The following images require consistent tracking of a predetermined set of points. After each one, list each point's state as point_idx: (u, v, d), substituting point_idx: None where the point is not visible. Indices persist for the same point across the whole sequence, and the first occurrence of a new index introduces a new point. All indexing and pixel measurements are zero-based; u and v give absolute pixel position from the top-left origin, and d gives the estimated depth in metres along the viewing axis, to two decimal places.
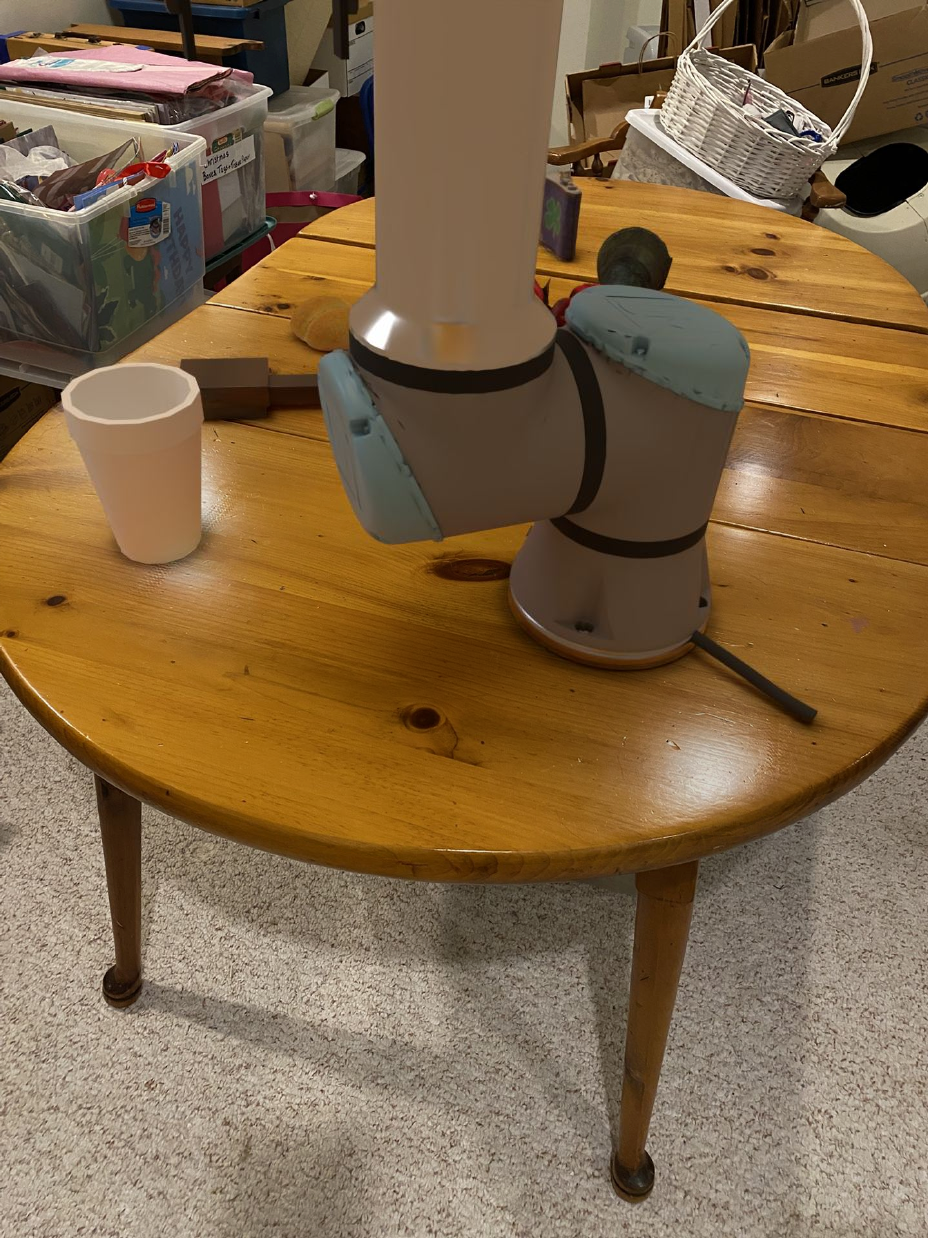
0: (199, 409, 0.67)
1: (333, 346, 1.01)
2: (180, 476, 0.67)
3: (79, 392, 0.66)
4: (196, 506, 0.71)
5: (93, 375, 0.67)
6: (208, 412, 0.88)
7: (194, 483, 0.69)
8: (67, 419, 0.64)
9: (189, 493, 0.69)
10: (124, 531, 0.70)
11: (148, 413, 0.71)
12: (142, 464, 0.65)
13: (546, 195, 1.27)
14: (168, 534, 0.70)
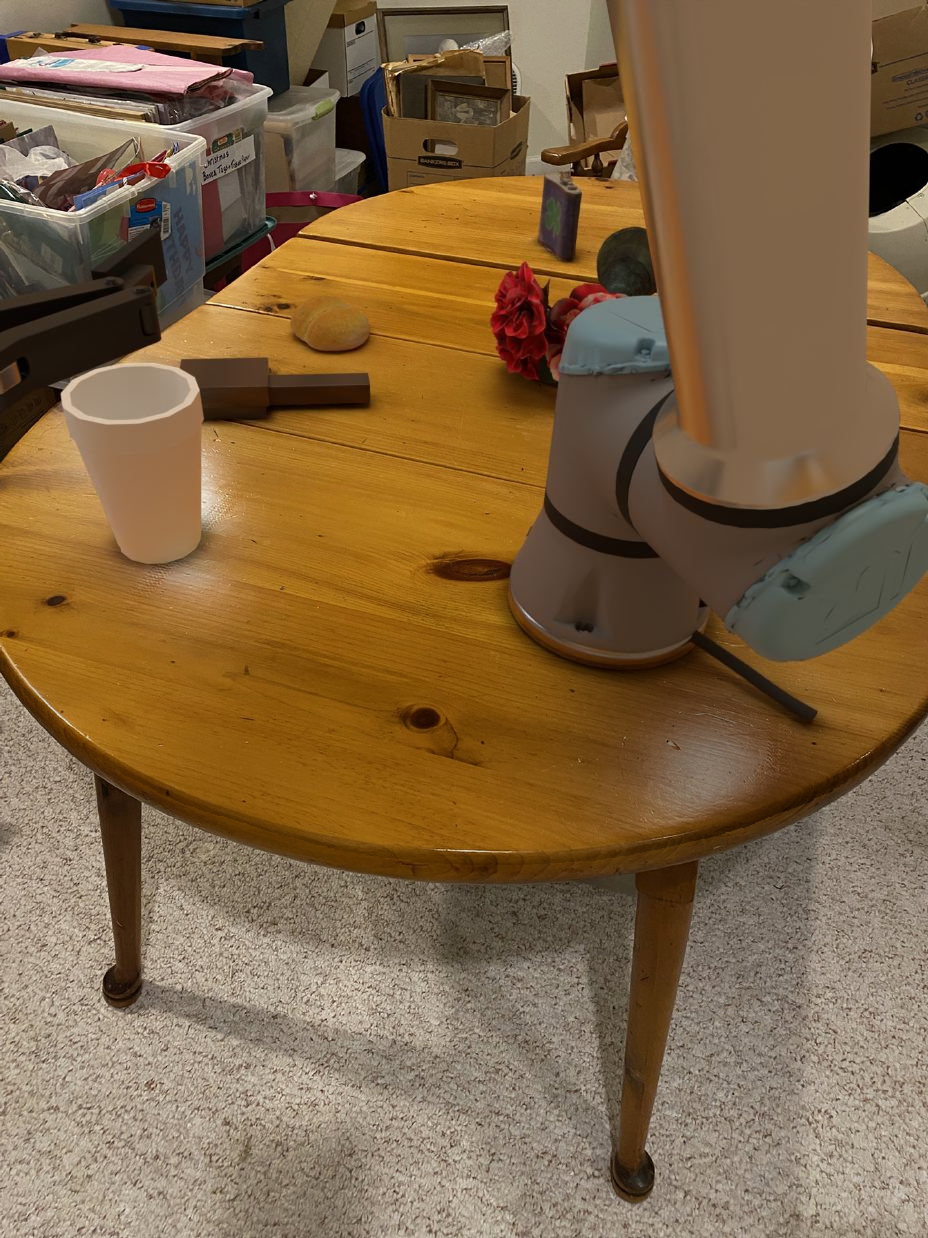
0: (199, 409, 0.67)
1: (333, 346, 1.01)
2: (180, 476, 0.67)
3: (79, 392, 0.66)
4: (196, 506, 0.71)
5: (93, 375, 0.67)
6: (208, 412, 0.88)
7: (194, 483, 0.69)
8: (67, 419, 0.64)
9: (189, 493, 0.69)
10: (124, 531, 0.70)
11: (148, 413, 0.71)
12: (142, 464, 0.65)
13: (546, 195, 1.27)
14: (168, 534, 0.70)
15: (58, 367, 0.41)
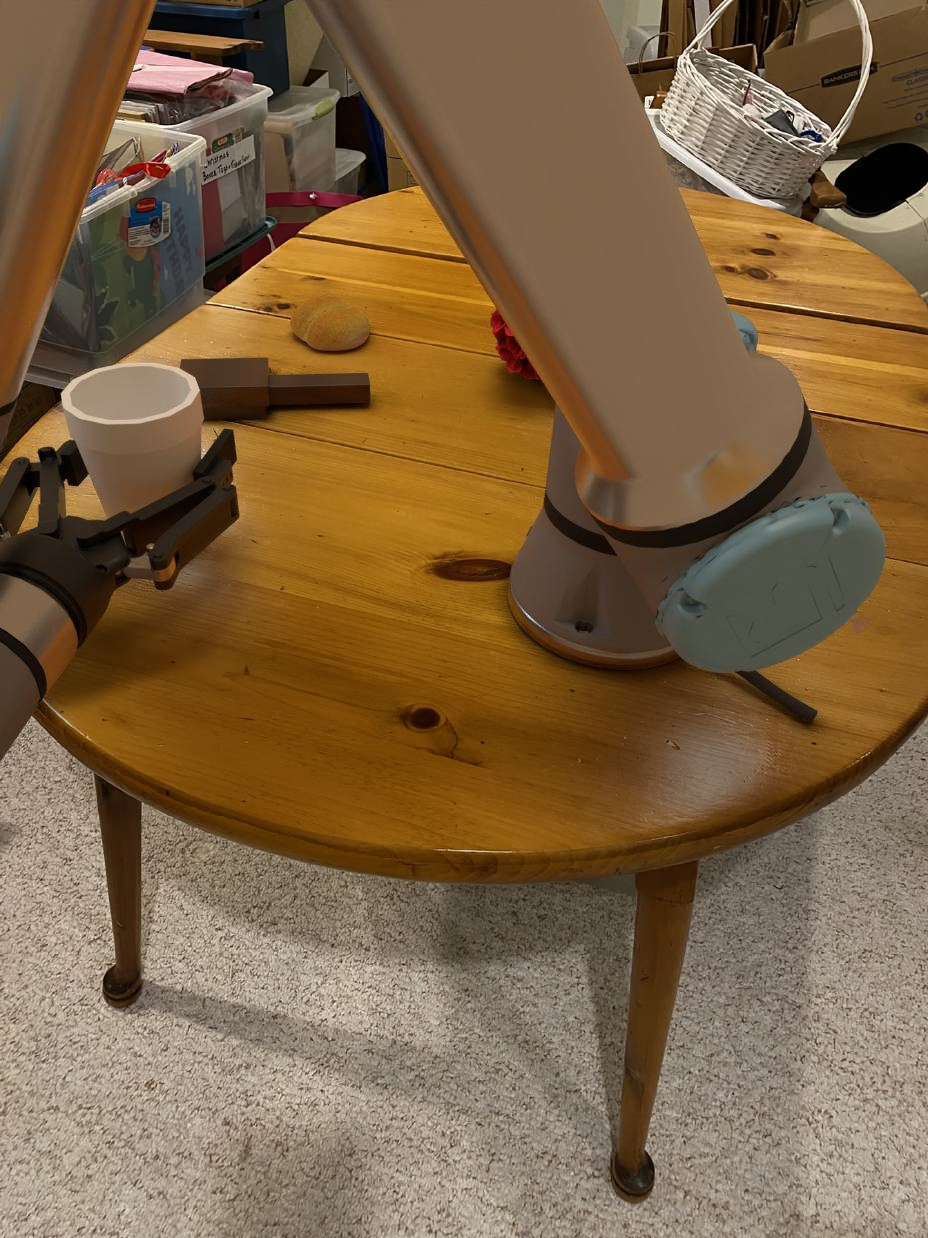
0: (199, 408, 0.67)
1: (333, 346, 1.01)
2: (180, 476, 0.67)
3: (79, 392, 0.66)
4: None
5: (93, 375, 0.67)
6: (208, 412, 0.88)
7: None
8: (67, 419, 0.64)
9: None
10: None
11: (148, 412, 0.71)
12: (142, 464, 0.65)
13: None
14: None
15: (192, 551, 0.63)
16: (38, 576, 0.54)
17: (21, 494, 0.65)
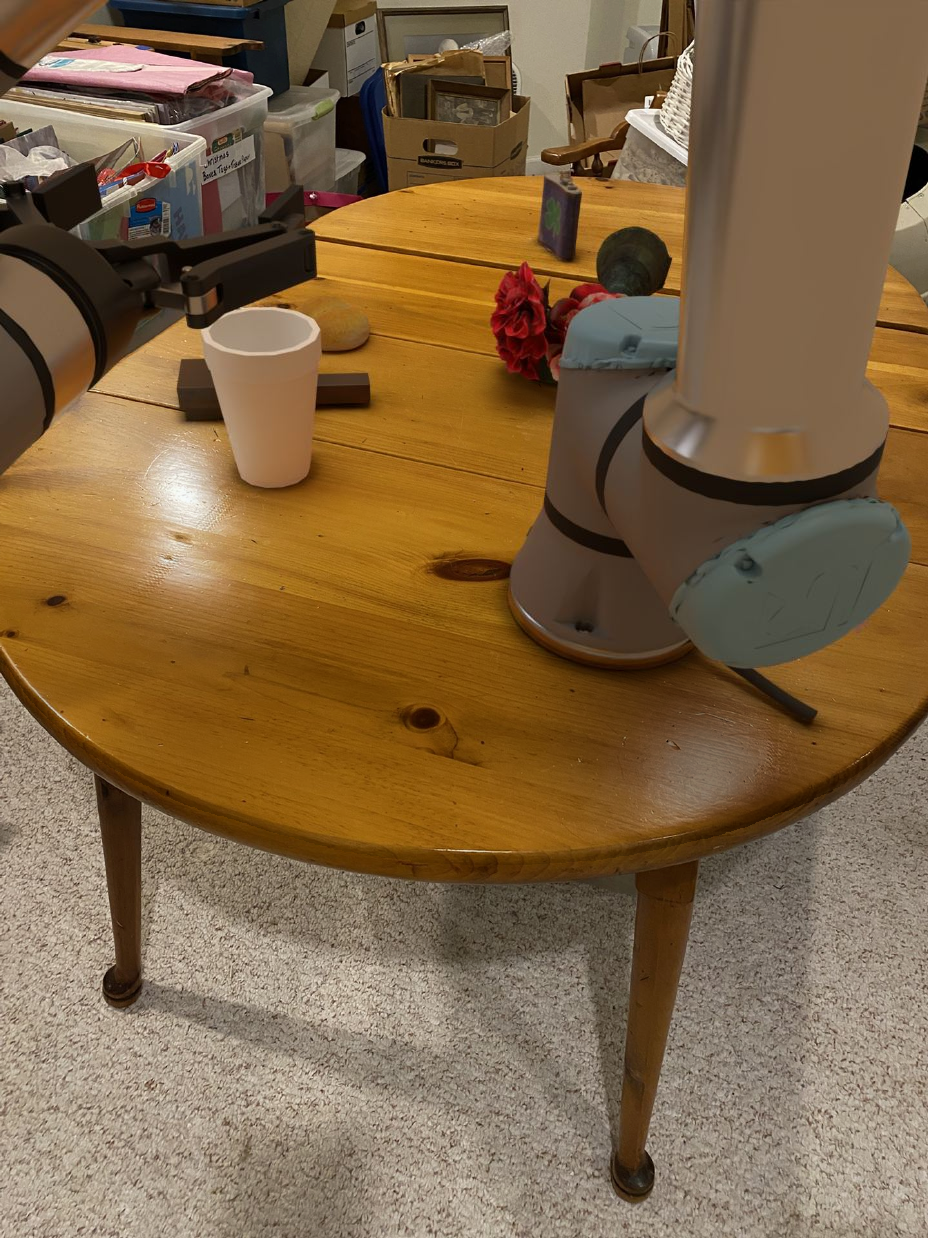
0: (319, 346, 0.76)
1: (333, 346, 1.01)
2: (302, 406, 0.76)
3: (214, 331, 0.75)
4: (310, 436, 0.80)
5: (225, 317, 0.76)
6: (208, 412, 0.88)
7: (311, 414, 0.78)
8: (208, 353, 0.73)
9: (306, 423, 0.78)
10: (248, 457, 0.78)
11: None
12: (272, 393, 0.74)
13: (546, 195, 1.27)
14: (286, 460, 0.79)
15: (243, 294, 0.49)
16: (44, 263, 0.41)
17: None
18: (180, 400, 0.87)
